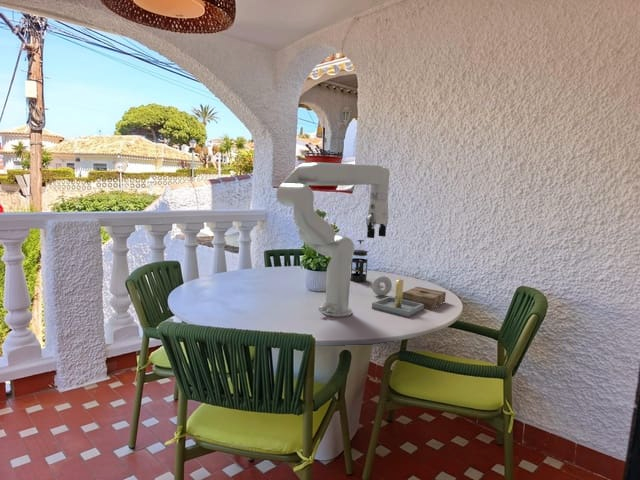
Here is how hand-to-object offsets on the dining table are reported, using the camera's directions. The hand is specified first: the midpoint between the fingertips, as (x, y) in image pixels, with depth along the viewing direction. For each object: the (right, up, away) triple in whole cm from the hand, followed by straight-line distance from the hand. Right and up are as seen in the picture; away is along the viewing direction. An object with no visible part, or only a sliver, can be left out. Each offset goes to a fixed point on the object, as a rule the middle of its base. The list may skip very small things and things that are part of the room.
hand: (376, 237), depth 166 cm
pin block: (+23, -30, +11) cm, 40 cm away
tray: (+9, -31, -1) cm, 32 cm away
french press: (-3, -24, +50) cm, 56 cm away
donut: (+5, -29, +20) cm, 35 cm away
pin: (+9, -30, -1) cm, 32 cm away
